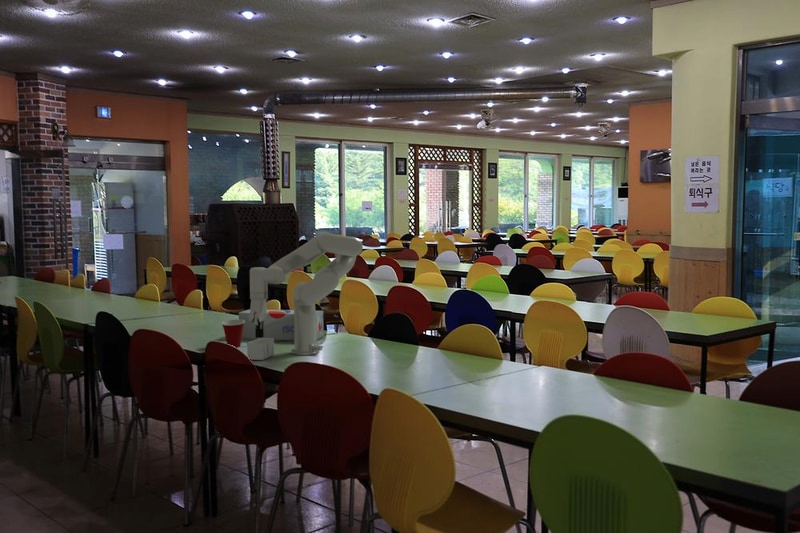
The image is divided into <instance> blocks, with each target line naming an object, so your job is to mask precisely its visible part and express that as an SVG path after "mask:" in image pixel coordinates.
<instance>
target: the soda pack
mask: <svg viewBox="0 0 800 533" xmlns="http://www.w3.org/2000/svg"><path fill="white" fill-rule="evenodd" d="M238 320H244V321H245V323H244V326H243V332H242V339H241V340H244V339H246V340H255V339H258V338H256V336H255V325H254V322H251V321H250V308H249V309H247V310H243V311H240V312H238ZM324 335H325V334H324V311H323V310H316V342H317V341H319V340H320V339H323V338H324ZM262 338H274V341H294V309H267V319H266V320H264V337H262Z"/></svg>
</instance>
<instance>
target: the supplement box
mask: <svg viewBox="0 0 800 533" xmlns="http://www.w3.org/2000/svg"><path fill="white" fill-rule="evenodd" d="M246 346H247V353H246V355H247V357H249V358H250V359H251V360H252V361H255V360H256V361H264V360H266V359H268V358H270V357H271V356H275V340H274V338H258V339H252V340H251V341H248V342H247V344H246ZM251 360H250V361H251Z"/></svg>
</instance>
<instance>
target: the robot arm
mask: <svg viewBox="0 0 800 533" xmlns="http://www.w3.org/2000/svg"><path fill="white" fill-rule="evenodd" d="M363 250H364V244H363V242H362V241H361V240H360V238H357V237H356V236H347V235H343V234H342V235H341V234H335V233H331V232H325V231H324V232H321V233H319V234H317V235H316V236H314V237H313V238H311V239H310V240H308V241H307V242H306V243H304V244H303V245H301V246H299V247H297V248H296V249H295V250H293V251H291V252H290V253H289V254H286V255H285V256H283V257H281V258H279V259H278V260H277V261H276V262H274V263H273V264H271V265H270V266H269V267H268V268H266V267H262V266H261V267H259V266H257V267H256V266H255V267H251V268H250V270H249V299H250V300H251V301H250V308H249V309H250V321H251V322H254V325H255V336H256V338H262V337H264V320H266V319H267V310H268V307H267V300H268V298H269V295H268V291H269V289H268V284H270V285H280V284H282V283H284V282H285V281H286V279H287V275H288V274H290V273H292V272H294V271H295V270H297V269H301V268H303V267H306V266H309V265H310V264H311V263H313V262H315V261H316V260H317V259H318V258H320V257H322V256H323V255H324V254H326V253H327V254H328V253H329V254H334V255H335V254H336V255H337V256H336V257H335V258H334V259H333V260H332V261H330V262H329V263H327V264H326V265H325V266H323V267H322V268H320V269H318V270H317V271H316V272H315V273H314V275H313V278H312V279H311V280H309V281H308V282H307V281H302V282H301V281H300V282H299V283H297V284H296V285H295V286H294V288H293V291H292V302H293V303H292V304H293V310H294V340H293V341H294V348H292V349H291V350H290V353H291V354H293V355H297V356H310V355H317V354H319V353H320V352H321V351H322V350H323V348H324V346H323V345H319V342H317V341H316V311H317V310H316V304H317V303H318V302H320V301H321V300H323V299H325V297H327V296H329V295H330V294H331V293H332V292H334V291H335V290H336V288H337V287H338V285H339V283H340V279H342V278H343V277H344V276H346V275H347V274H348V273H349V272H350V271H351V270H352V269H353V267H354V266H355V262H356V259H357V256H359V255H360V254H361V253H362V251H363Z"/></svg>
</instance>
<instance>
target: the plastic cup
mask: <svg viewBox="0 0 800 533" xmlns="http://www.w3.org/2000/svg"><path fill="white" fill-rule="evenodd" d="M244 323H245V321H244V320H239V319H229V320H228V319H227V320H224V321H222V322H221V323H220V324H221V325H222V328H223V330H224V331H223V332H224V336H225V337H224V338H225V341H226V345H227V344H230V345H233V346H235V347H236V348H240V347H241V343H242V340H243V339H242V332H243V326H244Z"/></svg>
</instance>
